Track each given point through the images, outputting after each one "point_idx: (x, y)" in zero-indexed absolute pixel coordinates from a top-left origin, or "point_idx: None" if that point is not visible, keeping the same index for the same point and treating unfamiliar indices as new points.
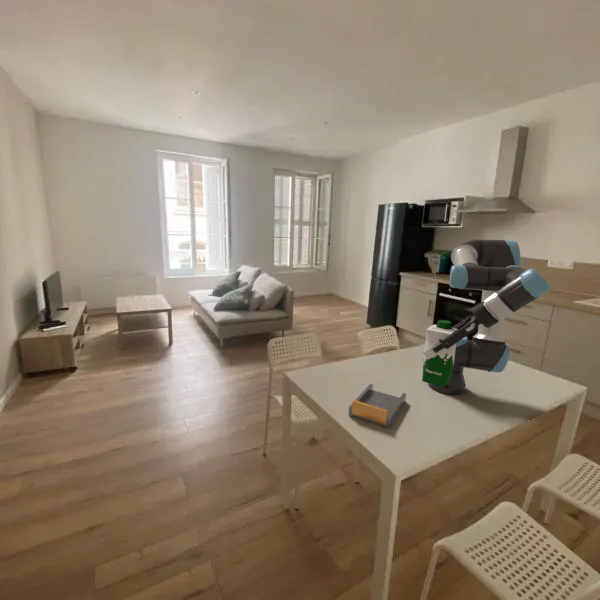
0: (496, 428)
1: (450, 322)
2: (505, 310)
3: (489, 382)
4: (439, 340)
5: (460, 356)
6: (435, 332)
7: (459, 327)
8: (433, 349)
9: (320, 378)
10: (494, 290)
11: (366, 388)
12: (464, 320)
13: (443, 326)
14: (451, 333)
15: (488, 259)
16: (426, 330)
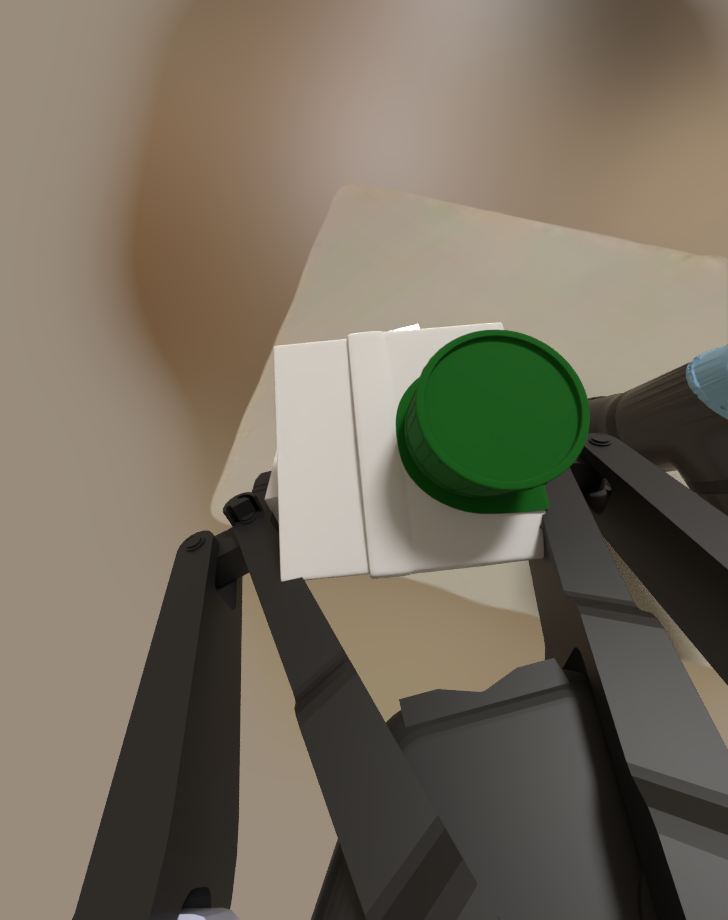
0: (494, 606)
1: (518, 483)
2: None
3: None
4: (230, 505)
5: (705, 456)
6: (279, 432)
7: (301, 719)
8: (258, 480)
9: (379, 238)
10: None
11: (389, 331)
12: (631, 772)
13: (412, 442)
14: (313, 575)
15: None
16: (275, 355)
